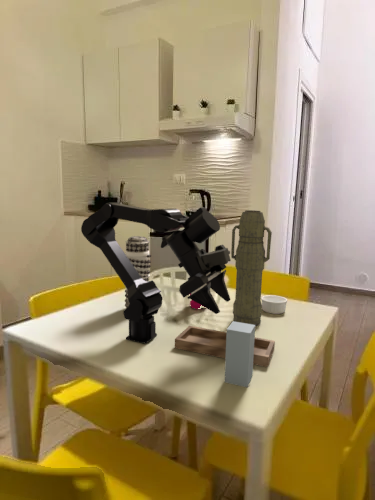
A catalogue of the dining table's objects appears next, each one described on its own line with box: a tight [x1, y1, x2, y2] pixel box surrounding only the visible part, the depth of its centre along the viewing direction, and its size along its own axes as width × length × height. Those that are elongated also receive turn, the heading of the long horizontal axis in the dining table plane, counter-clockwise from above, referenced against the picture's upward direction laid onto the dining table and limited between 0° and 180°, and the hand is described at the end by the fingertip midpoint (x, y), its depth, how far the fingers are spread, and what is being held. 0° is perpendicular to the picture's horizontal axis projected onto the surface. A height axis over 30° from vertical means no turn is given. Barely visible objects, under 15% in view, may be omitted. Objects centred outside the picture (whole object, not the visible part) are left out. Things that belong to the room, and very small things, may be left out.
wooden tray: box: [174, 325, 276, 368], centre depth 90 cm, size 24×10×2 cm, turn 68°
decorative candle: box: [124, 235, 152, 310], centre depth 117 cm, size 9×9×25 cm
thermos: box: [230, 209, 273, 327], centre depth 107 cm, size 9×12×35 cm
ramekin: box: [261, 294, 288, 315], centre depth 121 cm, size 9×9×4 cm
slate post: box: [223, 320, 256, 388], centre depth 75 cm, size 5×5×12 cm
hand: (223, 306), depth 84 cm, fingers open, 9 cm apart
